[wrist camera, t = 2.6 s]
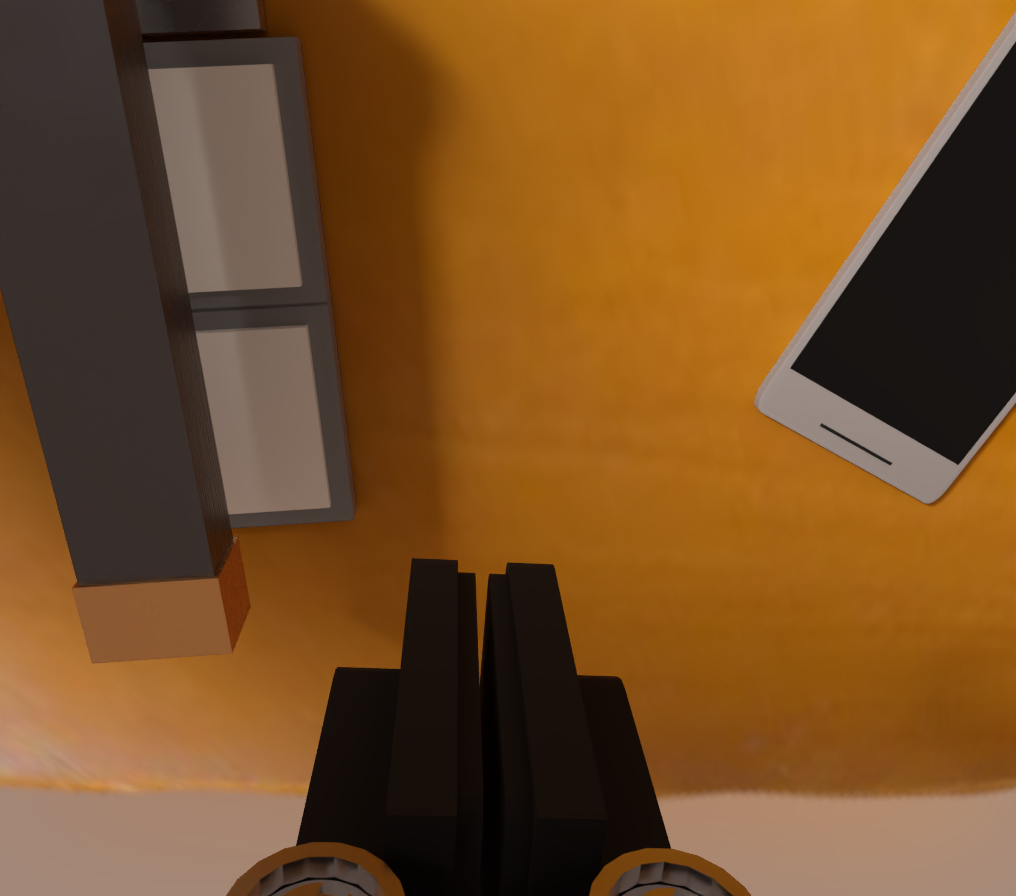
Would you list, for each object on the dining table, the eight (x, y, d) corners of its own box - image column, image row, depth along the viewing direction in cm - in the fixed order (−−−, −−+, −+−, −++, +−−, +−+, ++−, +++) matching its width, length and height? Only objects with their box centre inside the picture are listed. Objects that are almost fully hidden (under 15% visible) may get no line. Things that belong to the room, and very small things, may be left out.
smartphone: (1275, 43, 24) (1306, 41, 23) (919, 497, 28) (934, 509, 27) (1088, -109, 22) (1114, -118, 21) (743, 398, 27) (752, 408, 26)
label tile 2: (54, 314, 24) (36, 323, 23) (-10, 51, 21) (-33, 48, 20) (331, 299, 24) (326, 307, 23) (300, 39, 22) (293, 35, 21)
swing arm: (-123, -300, 15) (-213, -364, 13) (113, -305, 15) (60, -369, 13) (107, 615, 22) (72, 667, 20) (267, 603, 22) (248, 654, 20)
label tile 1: (105, 524, 26) (91, 542, 25) (53, 310, 24) (35, 320, 23) (356, 508, 27) (352, 524, 25) (330, 295, 24) (326, 303, 23)
